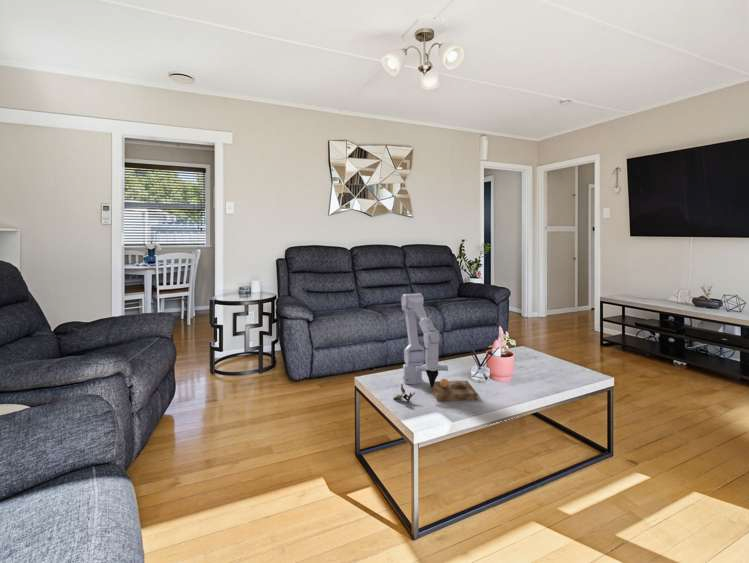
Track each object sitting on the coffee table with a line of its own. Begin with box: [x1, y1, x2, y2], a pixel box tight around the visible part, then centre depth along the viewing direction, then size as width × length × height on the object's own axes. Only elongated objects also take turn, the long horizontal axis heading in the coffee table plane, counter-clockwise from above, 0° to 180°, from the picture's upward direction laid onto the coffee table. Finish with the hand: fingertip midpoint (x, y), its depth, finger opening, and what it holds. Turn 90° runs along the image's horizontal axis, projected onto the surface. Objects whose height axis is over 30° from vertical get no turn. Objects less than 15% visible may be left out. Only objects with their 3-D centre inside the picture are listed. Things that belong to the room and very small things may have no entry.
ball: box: [439, 378, 449, 388], centre depth 184 cm, size 4×4×4 cm
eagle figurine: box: [393, 383, 416, 404], centre depth 178 cm, size 8×7×9 cm
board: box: [429, 380, 478, 402], centre depth 185 cm, size 18×16×3 cm
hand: (431, 386), depth 184 cm, fingers closed
